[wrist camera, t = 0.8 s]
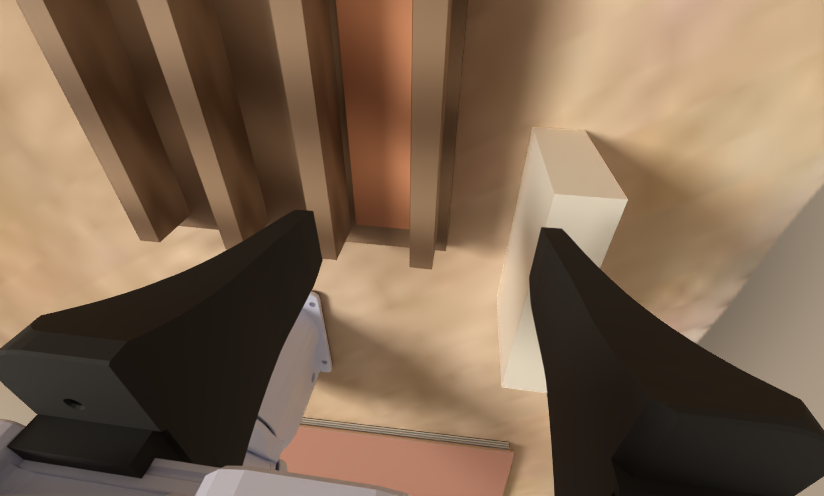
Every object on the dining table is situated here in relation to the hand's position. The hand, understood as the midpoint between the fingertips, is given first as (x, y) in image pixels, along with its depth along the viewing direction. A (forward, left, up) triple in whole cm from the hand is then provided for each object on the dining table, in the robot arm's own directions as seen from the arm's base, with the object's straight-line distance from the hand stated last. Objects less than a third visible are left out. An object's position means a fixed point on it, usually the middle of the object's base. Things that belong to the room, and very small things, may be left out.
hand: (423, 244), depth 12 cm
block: (-5, -6, -10) cm, 12 cm away
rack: (+2, +8, -10) cm, 13 cm away
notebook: (-39, +4, -10) cm, 41 cm away
